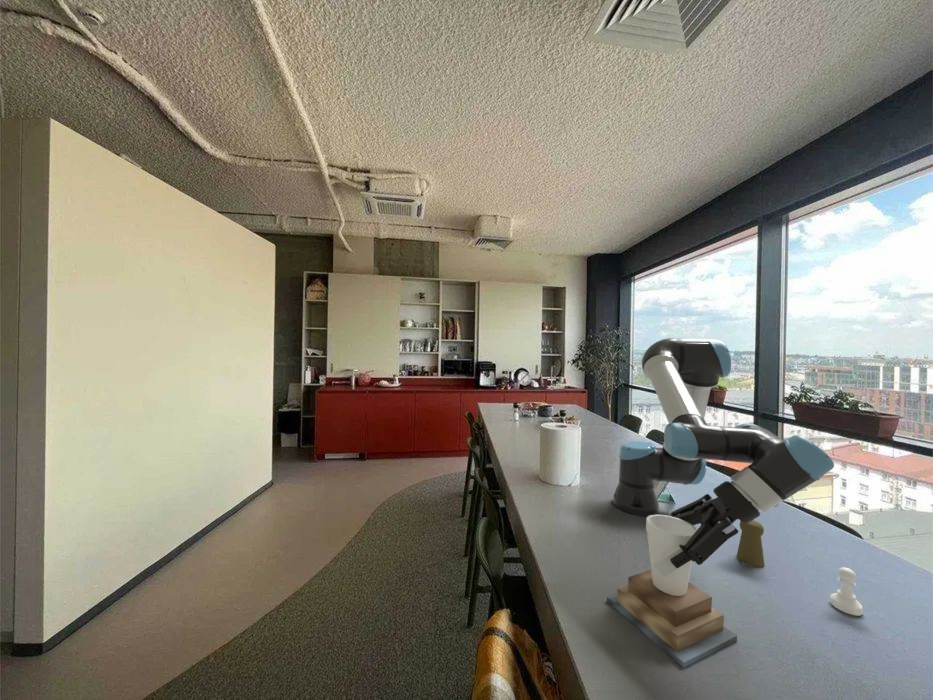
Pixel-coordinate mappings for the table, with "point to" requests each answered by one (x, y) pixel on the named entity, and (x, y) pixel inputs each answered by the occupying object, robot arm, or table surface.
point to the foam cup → (668, 551)
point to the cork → (751, 544)
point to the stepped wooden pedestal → (673, 618)
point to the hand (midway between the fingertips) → (654, 555)
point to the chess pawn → (846, 594)
